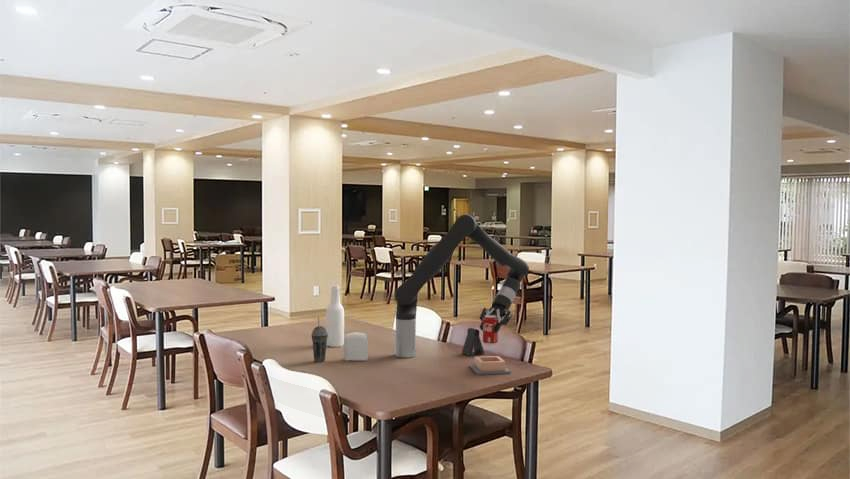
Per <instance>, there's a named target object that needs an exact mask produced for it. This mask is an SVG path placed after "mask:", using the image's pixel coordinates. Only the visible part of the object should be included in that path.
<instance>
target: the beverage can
mask: <svg viewBox="0 0 850 479" xmlns="http://www.w3.org/2000/svg"><path fill="white" fill-rule="evenodd" d="M496 323H498V319H497V317H496V316H495V315H485V317H484V318H483V331H482V343H483V344H484V345H486V346H496V345H497V344H498V343H499V339H498V338H499V331H498V332H497V333H495V332H494V330H493V329H494V327H495V325H496Z"/></svg>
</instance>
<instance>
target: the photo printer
mask: <svg viewBox="0 0 850 479" xmlns="http://www.w3.org/2000/svg"><path fill="white" fill-rule="evenodd" d="M368 351H369V350H368V336H367V334H366V333H363V332H355V331H354V332H349V333H346V334H344V360H345V361H346V362H347V361H350V360H351V361H353V362H354V361H361V362H362V361H363V362H364V361H368V357H369V356H368V353H369V352H368ZM351 361H350V362H351Z"/></svg>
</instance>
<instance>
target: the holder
mask: <svg viewBox="0 0 850 479" xmlns="http://www.w3.org/2000/svg"><path fill="white" fill-rule="evenodd" d="M506 362H507V361H505V360H504V359H503V358H502V357H501V356H499V355H490V356H489V355H488V356H487V355H486V356H483V355H482V356H474V363H469V367H470V368H471V370H473V371H474V373H475V374H476V375H479V376H480V375H504V374H505V375H507V374H508V375H509V374H510V375H511V374H512V372H511V370H510V369H509V368H507V366H506Z"/></svg>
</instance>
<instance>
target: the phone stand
mask: <svg viewBox="0 0 850 479" xmlns="http://www.w3.org/2000/svg"><path fill="white" fill-rule="evenodd" d="M466 332H467V334H466V337H465V341H464V345H463V348H462V350H461V354H462V355H464V356H467V357H473V356H474V355H476V356H482V355H481V354H484V355H485V350H484V347H483V345H482V343H483V342H482V340H481V337H480V329H476V328H473V327H468V328H467V331H466ZM474 357H475V356H474Z"/></svg>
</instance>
